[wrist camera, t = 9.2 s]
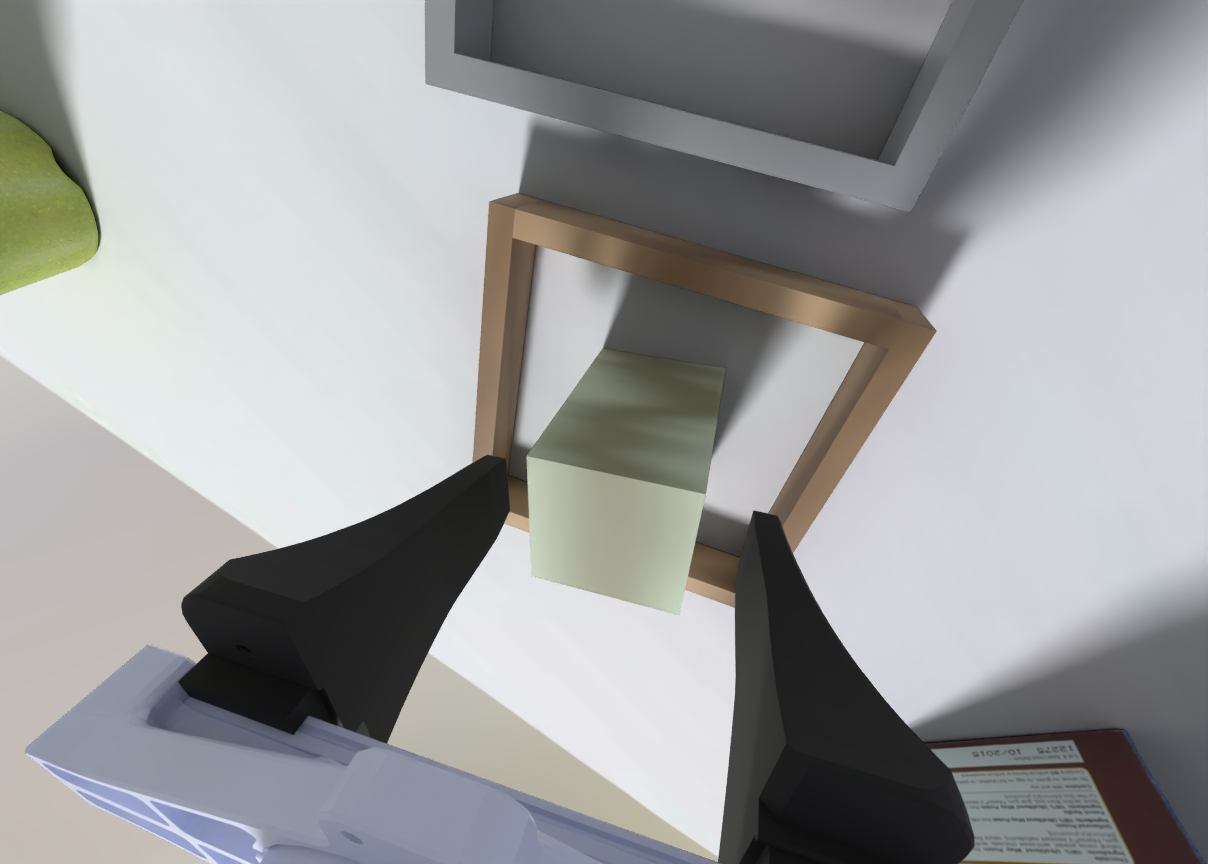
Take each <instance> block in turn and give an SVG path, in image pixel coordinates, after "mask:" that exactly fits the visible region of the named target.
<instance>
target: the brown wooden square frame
mask: <svg viewBox="0 0 1208 864" xmlns="http://www.w3.org/2000/svg"><path fill="white" fill-rule="evenodd" d="M536 245H539V246H542V247H545V248H549V249H552V250H556V251H559V252H562V253H566V254H569V255H572V256H576V257H579V258H582V259H586V260H589V261H593V262H596V263H599V264H603V265H606V266H609V267H613V268H616V269H620V270H623V271H626V272H630V273H633V274H636V275H640V276H643V277H647V278H650V279H653V280H657V281H660V282H663V283H667V284H670V285H674V286H677V287H680V288H684V289H687V290H690V291H694V292H697V293H700V294H704V295H707V296H711V297H714V298H717V299H721V300H724V301H727V302H731V303H734V304H738V305H741V306H744V307H748V308H751V309H754V310H758V311H761V312H765V313H768V314H771V315H775V316H778V317H781V318H785V319H788V320H792V321H795V322H798V323H802V324H805V325H808V326H812V327H815V328H818V329H822V330H825V331H829V332H832V333H835V334H839V335H842V336H845V337H849V338H852V339H856V340H859V341H862V342H865V343H864V345H863V347H862V349H861V350H860V352H859V354H858V356H857V358H856V359H855V361H854V363H853V365H852V366H851V368H850V370H849V372H848V373H847V375H846V377H845V379H844V381H843V382H842V384H841V386H840V388H839V389H838V391H837V393H836V395H835V397H834V398H833V400H832V402H831V404H830V405H829V407H828V409H827V411H826V413H825V414H824V416H823V418H822V420H821V421H820V423H819V425H818V427H817V428H816V430H815V432H814V434H813V436H812V437H811V439H810V441H809V443H808V444H807V446H806V448H805V450H804V452H803V453H802V455H801V457H800V459H799V460H798V462H797V464H796V466H795V467H794V469H793V471H792V473H791V475H790V476H789V478H788V480H787V482H786V483H785V485H784V487H783V489H782V491H781V492H780V494H779V496H778V498H777V499H776V501H775V503H774V505H773V507H772V508H771V510H770V512H769V514H772V515H777V516H778V517H779V519H780V521H781V524H782V527H783V530H784V532H785V535H786V538H787V540H788V543H789V545H790V548H791V550H792V553H793V552H794V551H795V549H796V548H797V546H798V544H799V543H800V541H801V540H802V538H803V537H804V535H805V534H806V532H807V531H808V529H809V527H810V526H811V524H812V523H813V521H814V520H815V518H816V517H817V515H818V514H819V512H820V510H821V509H822V507H823V506H824V504H825V503H826V501H827V500H828V498H829V497H830V495H831V493H832V492H833V490H834V489H835V487H836V486H837V484H838V483H839V481H840V480H841V478H842V476H843V475H844V473H845V472H846V470H847V469H848V467H849V466H850V464H851V463H852V461H853V459H854V458H855V456H856V455H857V453H858V452H859V450H860V449H861V447H862V446H863V444H864V442H865V441H866V439H867V438H868V436H869V435H870V433H871V432H872V430H873V429H874V427H875V425H876V424H877V422H878V421H879V419H880V418H881V416H882V415H883V413H884V412H885V410H886V408H887V407H888V405H889V404H890V402H891V401H892V399H893V398H894V396H895V395H896V393H897V391H898V390H899V388H900V387H901V385H902V384H903V382H904V381H905V379H906V378H907V376H908V375H909V373H910V371H911V370H912V368H913V367H914V365H915V364H916V362H917V361H918V359H919V358H920V356H921V354H922V353H923V351H924V350H925V348H926V347H927V345H928V344H929V342H930V341H931V339H932V337H933V336H934V334H935V333H936V330H935V328H934V327H933V326H932V325H931V324H930V322H929V321H928V320H927V319H926V317H925V316H924V315H923V314H922V313H921V311H920V310H919V309H918V308H917V307H915V306H912V305H908V304H905V303H901V302H898V301H894V300H891V299H887V298H884V297H880V296H877V295H873V294H870V293H866V292H863V291H859V290H856V289H852V288H849V287H845V286H842V285H838V284H835V283H831V282H828V281H824V280H821V279H817V278H814V277H810V276H807V275H803V274H800V273H796V272H793V271H789V270H786V269H782V268H779V267H775V266H772V265H768V264H765V263H761V262H758V261H754V260H751V259H747V258H744V257H740V256H737V255H733V254H730V253H726V252H723V251H719V250H716V249H712V248H708V247H705V246H701V245H698V244H694V243H691V242H687V241H684V240H680V239H677V238H673V237H670V236H666V235H663V234H659V233H656V232H652V231H649V230H645V229H642V228H638V227H635V226H631V225H628V224H624V223H621V222H617V221H614V220H610V219H607V218H603V217H600V216H596V215H593V214H589V213H586V212H582V211H579V210H575V209H572V208H568V207H565V206H561V205H558V204H554V203H551V202H547V201H544V200H540V199H537V198H533V197H530V196H526V195H523V194H519V193H516V194H513V195H510V196H506V197H503V198H499V199H496V200H493V201H489V214H488V230H487V246H486V262H485V278H484V294H483V309H482V325H481V341H480V357H479V373H478V389H477V404H476V420H475V436H474V452H473V462H475V461H477V460H478V459H480V458H482V457H484V456H486V455H492V456H496V457H501V458H506V466H507V478H508V490H509V502H510V512H509V514H508V516H507V518H506V520H505V522H504V524H507V525H510V526H512V527H515V528H518V529H521V530H523V531H526V532H529V533H530V526H529V503H528V483H527V482H524V481H521V480H518V479H515V478H512V477H510V476H508V472H509V464H510V456H511V447H512V439H513V431H514V422H515V414H516V406H517V397H518V389H519V381H520V372H521V364H522V356H523V347H524V339H525V331H526V322H527V314H528V306H529V297H530V289H531V281H532V272H533V264H534V256H535V247H536ZM739 560H740V558H739V557H736V556H733V555H730V554H727V553H725V552H722V551H719V550H716V549H713V548H710V547H708V546H705V545H702V544H699V543H696V542H695V546H694V550H693V555H692V559H691V564H690V569H689V573H688V578H687V582H686V587H685V590H688V591H690V592H693V593H696V594H699V595H701V596H704V597H707V598H710V599H712V600H715V601H718V602H720V603H723V604H726V605H729V606H731V607H734V608H735V593H736V583H737V574H738V565H739Z"/></svg>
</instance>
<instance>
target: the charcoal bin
mask: <svg viewBox="0 0 1208 864" xmlns="http://www.w3.org/2000/svg"><path fill="white" fill-rule="evenodd" d="M1023 1H1024V0H953V2H952V4H951V6H950V8H949V10H948V12H947V14H946V17H945V19H944V21H943V23H942V25H941V27H940V29H939V31H938V34H937V36H936V38H935V40H934V42H933V44H932V46H931V48H930V51H929V53H928V55H927V57H926V59H925V61H924V63H923V66H922V68H921V70H920V72H919V74H918V76H917V78H916V80H915V83H914V85H913V87H912V89H911V91H910V93H909V95H908V97H907V100H906V102H905V104H904V106H903V108H902V110H901V112H900V115H899V117H898V119H897V121H896V123H895V125H894V127H893V129H892V132H891V134H890V136H889V138H888V140H887V142H886V144H885V146H884V149H883V151H882V153H881V155H880V157H879V159H878V160H875V159H871V158H867V157H863V156H859V155H855V154H851V153H848V152H844V151H840V150H836V149H832V148H828V147H824V146H820V145H816V144H812V143H808V142H805V141H801V140H797V139H793V138H789V137H785V136H781V135H777V134H773V133H769V132H765V131H762V130H758V129H754V128H750V127H746V126H742V125H738V124H734V123H730V122H726V121H723V120H719V119H715V118H711V117H707V116H703V115H699V114H695V113H691V112H687V111H683V110H680V109H676V108H672V107H668V106H664V105H660V104H656V103H652V102H648V101H644V100H640V99H637V98H633V97H629V96H625V95H621V94H617V93H613V92H609V91H605V90H601V89H597V88H594V87H590V86H586V85H582V84H578V83H574V82H570V81H566V80H562V79H558V78H555V77H551V76H547V75H543V74H539V73H535V72H531V71H527V70H523V69H519V68H515V67H512V66H508V65H504V64H500V63H496V62H492V61H490V58H491V40H492V22H493V4H494V0H425V77H426V84H428V85H432V86H436V87H439V88H443V89H447V90H451V91H454V92H458V93H462V94H466V95H469V96H473V97H477V98H481V99H485V100H488V101H492V102H496V103H500V104H503V105H507V106H511V107H515V108H518V109H522V110H526V111H530V112H534V113H537V114H541V115H545V116H549V117H552V118H556V119H560V120H564V121H567V122H571V123H575V124H579V125H582V126H586V127H590V128H594V129H598V130H601V131H605V132H609V133H613V134H616V135H620V136H624V137H628V138H631V139H635V140H639V141H643V142H647V143H650V144H654V145H658V146H662V147H665V148H669V149H673V150H677V151H680V152H684V153H688V154H692V155H695V156H699V157H703V158H707V159H711V160H714V161H718V162H722V163H726V164H729V165H733V166H737V167H741V168H744V169H748V170H752V171H756V172H759V173H763V174H767V175H771V176H775V177H778V178H782V179H786V180H790V181H793V182H797V183H801V184H805V185H808V186H812V187H816V188H820V189H824V190H827V191H831V192H835V193H839V194H842V195H846V196H850V197H854V198H857V199H861V200H865V201H869V202H872V203H876V204H880V205H884V206H888V207H891V208H895V209H899V210H903V211H906V212H910V213H911V211H912V209H913V207H914V205H915V203H916V201H917V200H918V198H919V196H920V194H921V192H922V190H923V188H924V186H925V185H926V183H927V181H928V179H929V177H930V175H931V173H932V171H933V170H934V168H935V166H936V164H937V162H938V160H939V158H940V156H941V155H942V153H943V151H944V149H945V147H946V145H947V143H948V141H949V139H950V138H951V136H952V134H953V132H954V130H955V128H956V126H957V124H958V123H959V121H960V119H961V117H962V115H963V113H964V111H965V109H966V108H967V106H968V104H969V102H970V100H971V98H972V96H973V94H974V93H975V91H976V89H977V87H978V85H979V83H980V81H981V79H982V78H983V76H984V74H985V72H986V70H987V68H988V66H989V64H990V63H991V61H992V59H993V57H994V55H995V53H996V51H997V49H998V48H999V46H1000V44H1001V42H1002V40H1003V38H1004V36H1005V34H1006V33H1007V31H1008V29H1009V27H1010V25H1011V23H1012V21H1013V19H1014V18H1015V16H1016V14H1017V12H1018V10H1019V8H1020V6H1021V4H1022V3H1023Z"/></svg>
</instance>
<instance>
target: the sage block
mask: <svg viewBox="0 0 1208 864" xmlns="http://www.w3.org/2000/svg"><path fill="white" fill-rule="evenodd" d="M725 369H726V368H721V367H715V366H709V365H703V364H696V363H690V362H684V361H678V360H672V359H665V358H659V357H653V356H647V355H641V354H634V353H628V352H622V351H616V350H610V349H602V350H601V352H600V353H599V355H598V356H597V357H596V359H595V360H594V362H593V363H592V364H591V366H590V367H589V369H588V370H587V371H586V373H585V374H584V376H583V377H582V378H581V380H580V381H579V383H578V384H577V386H576V387H575V388H574V390H573V391H572V393H571V394H570V395H569V397H568V398H567V400H566V401H565V402H564V404H563V405H562V407H561V408H560V410H559V411H558V412H557V414H556V415H555V417H554V418H553V419H552V421H551V422H550V424H549V425H548V426H547V428H546V429H545V431H544V432H543V433H542V435H541V436H540V438H539V439H538V441H537V442H536V443H535V445H534V446H533V448H532V449H531V450H530V452H529V453H528V455H527V456H526V457H527V480H528V503H529V526H530V549H531V572H532V576H533V577H537V578H541V579H544V580H548V581H552V582H556V583H559V584H563V585H567V586H571V587H575V588H578V589H582V590H586V591H590V592H593V593H597V594H601V595H605V596H609V597H612V598H616V599H620V600H624V601H627V602H631V603H635V604H639V605H643V606H646V607H650V608H654V609H658V610H662V611H665V612H669V613H673V614H677V615H680V610H681V605H682V601H683V596H684V592H685V587H686V582H687V578H688V573H689V569H690V564H691V559H692V555H693V550H694V546H695V541H696V536H697V532H698V527H699V523H700V518H701V513H702V509H703V504H704V500H705V495H706V489H707V483H708V476H709V470H710V464H711V457H712V451H713V445H714V438H715V432H716V426H717V419H718V413H719V407H720V400H721V394H722V388H723V381H724V375H725Z"/></svg>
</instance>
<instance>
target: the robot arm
mask: <svg viewBox="0 0 1208 864" xmlns="http://www.w3.org/2000/svg"><path fill="white" fill-rule="evenodd" d="M509 512H510V502H509V490H508V478H507V466H506V458H501V457H496V456H492V455H486V456H484V457H482V458H480V459H478V460H477V461H475V462H473V463H472V464H470V465H468V466H467V467H465V468H463V469H462V470H460V471H458V472H457V473H455V474H454V475H452V476H450V477H448V478H447V479H445V480H443V481H442V482H440V483H438V484H437V485H435V486H433V487H431V488H430V489H428V490H426V491H424V492H422V493H420V494H419V495H417V496H415V497H413V498H411V499H409V500H407V501H405V502H404V503H402V504H400V505H398V506H396V507H394V508H392V509H390V510H387V511H385V512H383V513H381V514H379V515H376V516H374V517H372V518H369V519H367V520H365V521H362V522H360V523H357V524H355V525H352V526H349V527H346V528H344V529H341V530H338V531H335V532H333V533H330V534H327V535H324V536H321V537H318V538H315V539H312V540H308V541H305V542H302V543H298V544H295V545H291V546H288V547H284V548H280V549H276V550H272V551H268V552H263V553H259V554H254V555H250V556H245V557H241V558H236V559H231V560H229V561H228V562H226V563H225V564H224V565H223V566H221V567H220V568H219V569H218V570H217V571H215V572H214V573H213V574H212V575H211V576H209V577H208V578H207V579H206V580H205V581H203V582H202V583H201V584H200V585H199V586H197V587H196V588H195V589H194V590H192V591H191V592H190V593H189V594H187V595H186V596H185V597H184V598H183V601H182V606H181V607H182V613H183V615H184V617H185V619H186V621H187V623H188V624H189V626H190V627H191V628H192V630H193V632H194V633H195V635H196V636H197V637H198V639H199V640H200V642H201V643H202V645H203V646H204V648H205V649H206V651H207V652H208V654H207V655H206V656H205V657H204V658H203V659H201V660H200V661H199V662H198V663H197V664H196V663H195V662H194V661H192V660H191V659H189V658H187V657H185V656H183V655H181V654H178V653H175V652H172V651H169V650H167V649H164V648H161V647H158V646H155V645H152V644H151V645H146V646H145V647H144V648H143V649H142V650H140V651H139V652H138V653H137V654H136V655H135V656H133V657H132V658H131V659H130V660H129V661H128V662H126V663H125V664H124V665H123V666H122V667H120V668H119V669H118V670H117V671H116V672H114V674H112V675H111V676H110V677H109V678H107V679H106V680H105V681H104V682H103V683H102V684H101V685H99V686H98V687H97V688H96V689H94V690H93V691H92V692H91V693H90V694H89V695H87V696H86V697H85V698H84V699H83V700H81V701H80V702H79V703H78V704H77V705H76V706H74V707H73V708H72V709H71V710H70V711H69V712H67V713H66V714H65V715H64V716H63V717H62V718H60V719H59V720H58V721H57V722H56V723H54V724H53V725H52V726H51V727H50V728H48V729H47V730H46V731H45V732H44V733H43V734H41V735H40V736H39V737H38V738H37V739H36V740H34V741H33V742H32V743H31V744H30V745H28V746H27V747H26V750H25V754H27V755H28V756H29V757H31V758H32V759H33V760H34V761H36V762H37V763H38V764H39V765H41V766H42V767H43V768H45V769H46V770H47V771H49V772H50V773H51V774H52V775H54V776H55V777H56V778H57V779H59V780H60V781H61V782H62V783H64V784H65V785H66V786H68V787H69V788H70V789H72V790H73V791H74V792H75V793H77V794H78V795H79V796H80V797H82V798H83V799H84V800H85V801H87V802H88V803H90V804H91V805H93V806H96V807H98V808H100V809H102V810H105V811H106V812H109V813H111V814H113V815H115V816H117V817H120V818H122V819H124V820H126V821H128V822H130V823H132V824H134V825H136V826H138V827H140V828H142V829H144V830H146V831H148V832H150V833H152V834H154V835H156V836H158V837H161V838H162V839H164V840H166V841H168V842H170V843H172V844H174V845H176V846H178V847H180V848H182V849H184V850H186V851H188V852H190V853H192V854H194V855H195V856H198V857H199V858H201V859H203V860H205V861H207V862H209V863H211V864H959V863H960V862H961V861H962V860H964V859H965V858H966V857H967V856H968V855H969V853H970V852H971V851H972V849H973V848H974V847H975V837H974V833H973V829H972V826H971V822H970V819H969V816H968V812H967V809H966V807H965V804H964V801H963V799H962V796H961V794H960V791H959V789H958V786H957V784H956V781H955V779H954V777H953V774H952V771H951V770H950V769H949V768H948V767H947V766H946V765H945V764H944V763H943V762H942V761H941V760H940V759H939V758H938V757H937V756H936V755H935V754H934V753H933V752H932V750H931V749H930V748H929V747H928V746H927V745H926V744H925V743H924V742H923V741H922V740H921V739H920V738H919V737H918V736H917V735H916V734H915V733H914V732H913V731H912V730H911V729H910V728H909V727H908V726H907V725H906V724H905V722H904V721H903V720H902V719H901V718H900V717H899V716H898V714H897V713H896V712H895V711H894V710H893V709H892V708H891V707H890V705H889V704H888V703H887V702H886V701H885V700H884V698H883V697H882V696H881V695H880V693H879V692H878V691H877V689H876V688H875V687H874V686H873V684H872V683H871V682H870V681H869V679H868V678H867V677H866V676H865V674H864V673H863V672H862V671H861V669H860V668H859V667H858V665H857V664H856V663H855V661H854V660H853V658H852V657H851V655H850V654H849V653H848V651H847V650H846V648H845V647H844V646H843V644H842V643H841V641H840V640H839V638H838V636H837V635H836V633H835V632H834V630H833V629H832V627H831V626H830V624H829V622H828V621H827V619H826V617H825V616H824V614H823V612H822V611H821V609H820V607H819V605H818V603H817V602H816V600H815V598H814V596H813V594H812V592H811V591H810V589H809V587H808V585H807V583H806V581H805V579H804V576H803V574H802V572H801V570H800V568H799V566H798V564H797V562H796V560H795V557H794V555H793V553H792V550H791V548H790V545H789V543H788V540H787V538H786V535H785V532H784V530H783V527H782V524H781V521H780V519H779V517H778V516H777V515H772V514H767V513H762V512H758V511H753V514H752V518H751V522H750V525H749V529H748V532H747V536H746V539H745V543H744V546H743V550H742V553H741V557H740V560H739V565H738V574H737V583H736V593H735V656H736V683H735V701H734V713H733V724H732V736H731V746H730V757H729V767H728V777H727V786H726V796H725V805H724V815H723V824H722V832H721V841H720V850H719V859H718V862H715V861H713V860H710V859H707V858H704V857H702V856H699V855H696V854H693V853H690V852H688V851H685V850H682V849H679V848H676V847H674V846H671V845H668V844H665V843H662V842H659V841H657V840H654V839H651V838H648V837H645V836H643V835H640V834H637V833H635V832H632V831H629V830H626V829H623V828H621V827H617V826H615V825H612V824H609V823H607V822H604V821H601V820H598V819H595V818H593V817H590V816H587V815H584V814H581V813H579V812H576V811H573V810H570V809H568V808H565V807H562V806H559V805H556V804H553V803H551V802H548V801H545V800H542V799H540V798H537V797H534V796H531V795H528V794H526V793H523V792H520V791H517V790H514V789H511V788H509V787H506V786H503V785H501V784H498V783H495V782H492V781H489V780H487V779H484V778H481V777H478V776H475V775H473V774H469V773H467V772H464V771H461V770H458V769H456V768H453V767H450V766H447V765H445V764H442V763H439V762H436V761H433V760H431V759H428V758H425V757H422V756H419V755H417V754H414V753H411V752H408V751H406V750H403V749H400V748H397V747H394V746H391V745H389V744H387V742H388V740H389V737H390V735H391V732H392V730H393V728H394V725H395V723H396V721H397V718H398V716H399V714H400V711H401V709H402V707H403V705H404V702H405V700H406V698H407V696H408V694H409V691H410V689H411V687H412V685H413V683H414V680H415V678H416V676H417V674H418V672H419V670H420V668H421V665H422V664H423V662H424V660H425V658H426V655H427V654H428V652H429V650H430V648H431V645H432V643H433V641H434V639H435V638H436V636H437V634H438V632H439V630H440V628H441V626H442V624H443V622H444V620H445V618H446V617H447V615H448V613H449V611H450V609H451V608H452V606H453V604H454V603H455V601H456V599H457V598H458V596H459V595H460V593H461V592H462V590H463V589H464V587H465V586H466V584H467V583H468V581H469V580H470V578H471V577H472V575H473V574H474V572H475V571H476V569H477V568H478V566H479V565H480V563H481V562H482V560H483V559H484V557H485V556H486V554H487V553H488V551H489V550H490V548H491V546H492V545H493V543H494V542H495V540H496V539H497V537H498V535H499V533H500V531H501V529H502V527H503V525H504V522H505V520H506V518H507V516H508V514H509Z"/></svg>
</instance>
